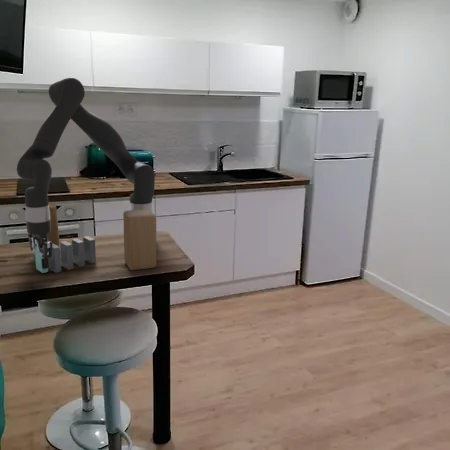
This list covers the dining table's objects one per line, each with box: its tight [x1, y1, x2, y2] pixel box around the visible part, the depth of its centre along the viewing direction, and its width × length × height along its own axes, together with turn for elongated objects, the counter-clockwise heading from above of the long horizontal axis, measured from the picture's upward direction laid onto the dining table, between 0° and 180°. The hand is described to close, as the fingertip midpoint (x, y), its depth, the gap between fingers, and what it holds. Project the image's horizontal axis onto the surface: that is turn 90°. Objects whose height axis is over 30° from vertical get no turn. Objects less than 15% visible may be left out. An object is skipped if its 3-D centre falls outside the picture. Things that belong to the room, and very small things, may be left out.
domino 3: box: [59, 240, 74, 270], centre depth 161 cm, size 2×5×9 cm, turn 45°
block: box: [47, 201, 60, 247], centre depth 171 cm, size 11×8×20 cm
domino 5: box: [82, 235, 97, 264], centre depth 167 cm, size 2×5×9 cm, turn 45°
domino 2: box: [48, 244, 62, 274], centre depth 158 cm, size 2×5×9 cm, turn 45°
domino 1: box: [34, 245, 49, 274], centre depth 154 cm, size 2×5×9 cm, turn 45°
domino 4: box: [71, 237, 86, 267], centre depth 164 cm, size 2×5×9 cm, turn 45°
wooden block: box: [122, 209, 157, 271], centre depth 164 cm, size 10×10×20 cm
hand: (41, 265), depth 155 cm, fingers closed on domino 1, 5 cm apart
